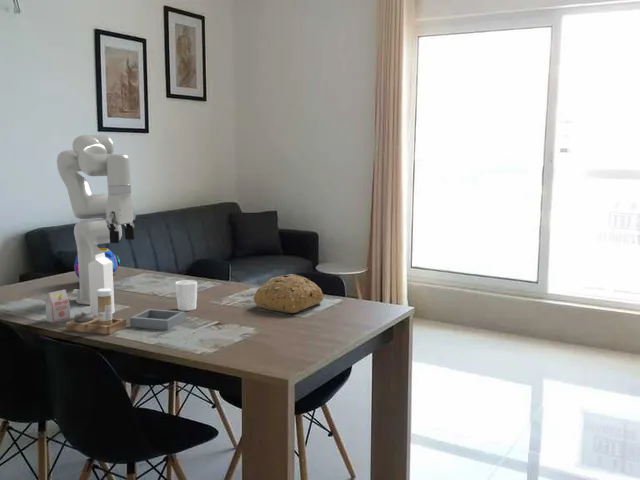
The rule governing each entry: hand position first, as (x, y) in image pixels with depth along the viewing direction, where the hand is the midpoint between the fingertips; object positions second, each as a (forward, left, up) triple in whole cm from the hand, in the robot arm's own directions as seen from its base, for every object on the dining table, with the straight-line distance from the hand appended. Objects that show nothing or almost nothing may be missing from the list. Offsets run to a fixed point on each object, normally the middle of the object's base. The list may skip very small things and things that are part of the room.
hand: (122, 241), depth 224 cm
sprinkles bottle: (0, -13, -28) cm, 30 cm away
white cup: (+13, +19, -28) cm, 36 cm away
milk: (-12, +3, -28) cm, 30 cm away
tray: (+13, -2, -28) cm, 31 cm away
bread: (+49, +34, -28) cm, 66 cm away
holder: (-3, -13, -27) cm, 30 cm away
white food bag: (-23, -7, -28) cm, 36 cm away
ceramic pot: (-44, +46, -28) cm, 69 cm away
